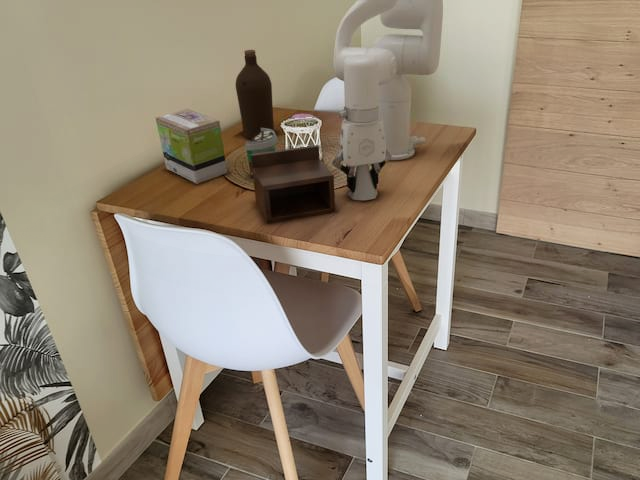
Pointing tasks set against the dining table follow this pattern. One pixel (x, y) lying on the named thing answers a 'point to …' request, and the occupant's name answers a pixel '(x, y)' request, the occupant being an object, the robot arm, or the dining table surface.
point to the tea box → (192, 145)
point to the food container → (261, 144)
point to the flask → (363, 185)
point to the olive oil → (254, 97)
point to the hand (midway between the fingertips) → (362, 188)
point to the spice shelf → (292, 184)
